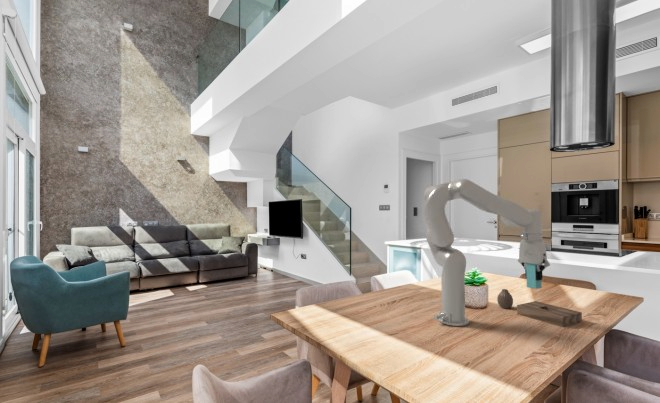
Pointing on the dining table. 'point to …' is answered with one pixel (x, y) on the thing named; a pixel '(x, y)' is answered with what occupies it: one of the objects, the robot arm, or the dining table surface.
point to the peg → (532, 276)
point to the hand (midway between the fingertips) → (533, 278)
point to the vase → (505, 299)
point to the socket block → (549, 313)
